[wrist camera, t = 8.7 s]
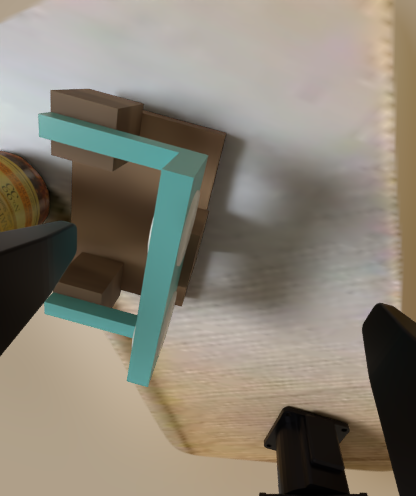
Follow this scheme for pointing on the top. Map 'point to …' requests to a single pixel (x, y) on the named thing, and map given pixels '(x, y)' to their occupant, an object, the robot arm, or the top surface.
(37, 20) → the top surface
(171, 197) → the glasses
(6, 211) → the sauce bottle
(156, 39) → the top surface
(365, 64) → the top surface
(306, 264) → the top surface
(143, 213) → the stand
